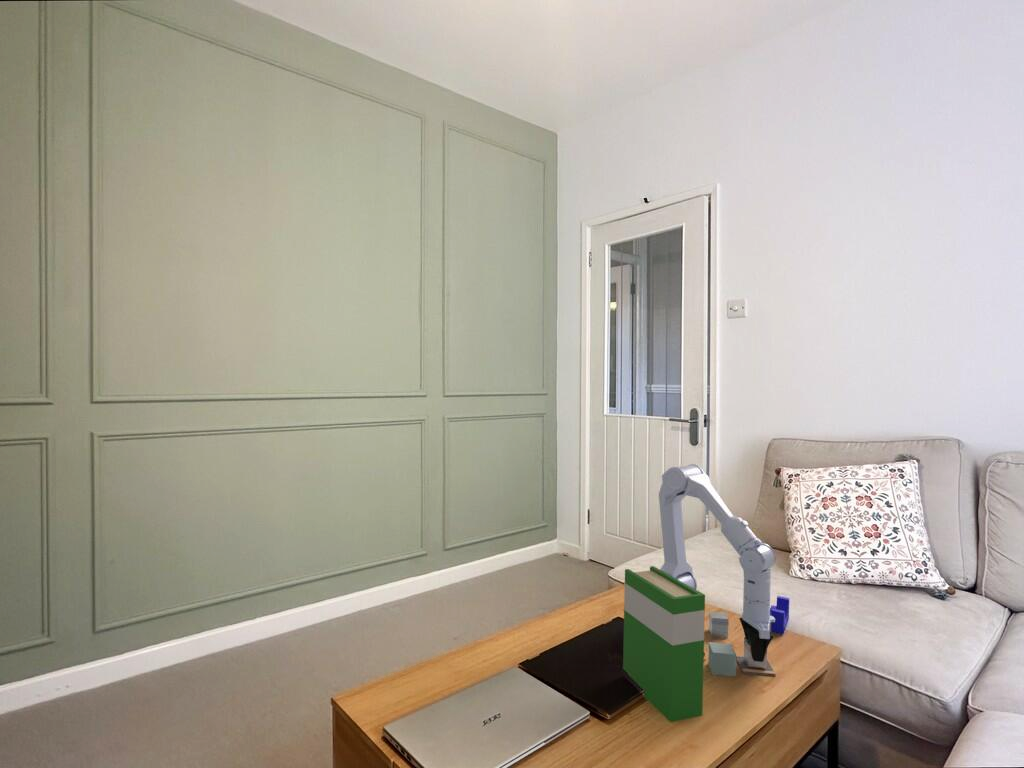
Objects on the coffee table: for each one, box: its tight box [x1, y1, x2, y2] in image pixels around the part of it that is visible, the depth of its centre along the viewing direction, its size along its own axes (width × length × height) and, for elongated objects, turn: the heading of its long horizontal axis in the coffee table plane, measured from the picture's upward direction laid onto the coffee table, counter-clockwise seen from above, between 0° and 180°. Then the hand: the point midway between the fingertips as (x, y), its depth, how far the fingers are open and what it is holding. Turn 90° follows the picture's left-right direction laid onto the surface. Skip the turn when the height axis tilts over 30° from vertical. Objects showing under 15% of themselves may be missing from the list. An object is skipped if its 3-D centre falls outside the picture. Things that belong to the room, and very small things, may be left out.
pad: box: [736, 655, 776, 677], centre depth 132 cm, size 7×7×1 cm
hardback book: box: [622, 565, 706, 723], centre depth 119 cm, size 18×7×24 cm, turn 20°
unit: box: [707, 641, 737, 677], centre depth 130 cm, size 5×5×5 cm
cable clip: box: [770, 595, 790, 635], centre depth 155 cm, size 12×4×6 cm, turn 148°
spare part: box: [743, 636, 768, 668], centre depth 132 cm, size 4×4×5 cm
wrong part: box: [708, 611, 730, 639], centre depth 148 cm, size 4×4×5 cm
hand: (755, 655), depth 132 cm, fingers closed on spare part, 4 cm apart
